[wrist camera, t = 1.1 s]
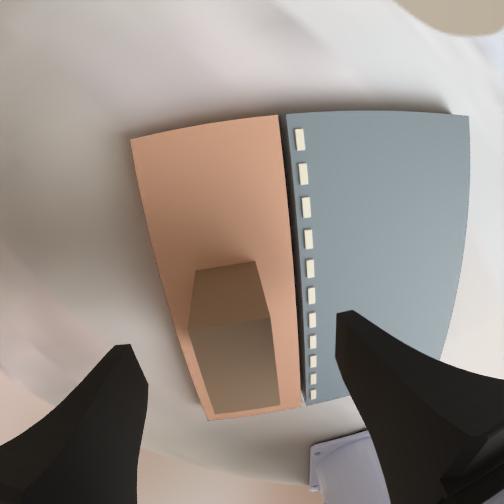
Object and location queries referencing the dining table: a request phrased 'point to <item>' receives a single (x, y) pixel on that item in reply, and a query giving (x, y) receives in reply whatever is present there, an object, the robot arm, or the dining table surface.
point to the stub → (225, 259)
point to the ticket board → (374, 228)
